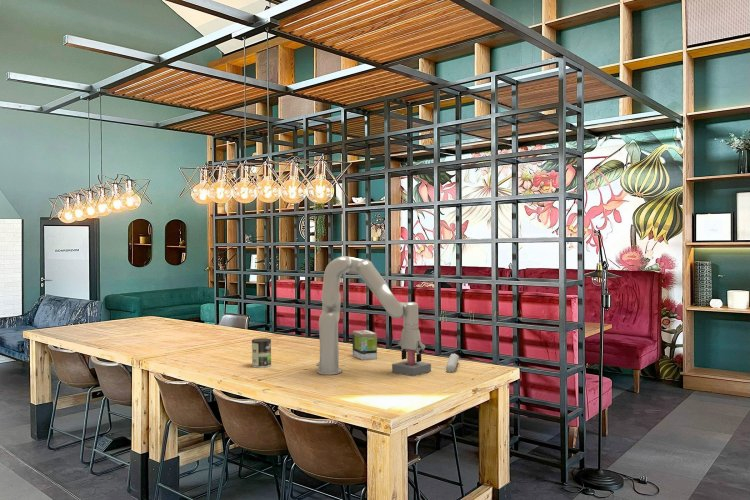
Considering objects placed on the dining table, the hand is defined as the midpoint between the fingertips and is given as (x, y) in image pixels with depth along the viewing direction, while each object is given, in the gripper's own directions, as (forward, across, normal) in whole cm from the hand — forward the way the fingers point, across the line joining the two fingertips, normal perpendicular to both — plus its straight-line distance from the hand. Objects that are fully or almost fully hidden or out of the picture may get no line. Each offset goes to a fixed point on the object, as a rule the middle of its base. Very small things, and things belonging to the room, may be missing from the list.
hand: (411, 360), depth 293 cm
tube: (+6, +10, +21) cm, 24 cm away
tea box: (+6, -44, +11) cm, 46 cm away
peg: (+6, 0, 0) cm, 6 cm away
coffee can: (+6, -71, -41) cm, 82 cm away
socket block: (+6, 0, 0) cm, 6 cm away
